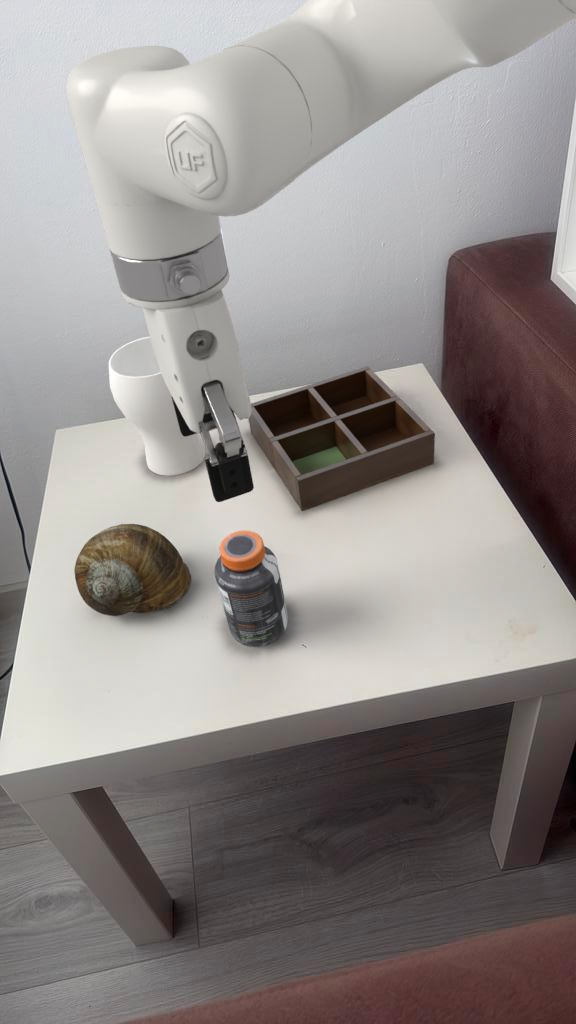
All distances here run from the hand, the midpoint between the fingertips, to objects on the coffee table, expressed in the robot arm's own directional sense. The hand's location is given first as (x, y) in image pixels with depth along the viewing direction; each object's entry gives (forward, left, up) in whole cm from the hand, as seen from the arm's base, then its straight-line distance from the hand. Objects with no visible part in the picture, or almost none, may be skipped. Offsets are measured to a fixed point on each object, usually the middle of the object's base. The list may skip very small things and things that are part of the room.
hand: (215, 460), depth 61 cm
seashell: (+8, +10, -20) cm, 24 cm away
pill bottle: (-2, 0, -20) cm, 20 cm away
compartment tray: (+20, -19, -20) cm, 34 cm away
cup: (+29, 0, -20) cm, 35 cm away
